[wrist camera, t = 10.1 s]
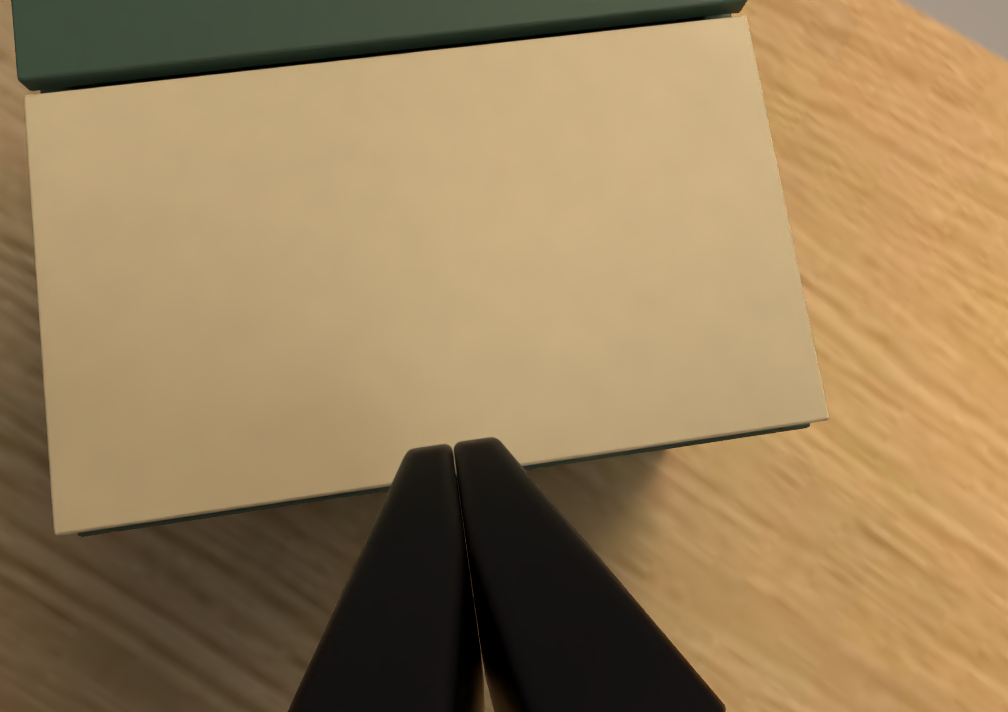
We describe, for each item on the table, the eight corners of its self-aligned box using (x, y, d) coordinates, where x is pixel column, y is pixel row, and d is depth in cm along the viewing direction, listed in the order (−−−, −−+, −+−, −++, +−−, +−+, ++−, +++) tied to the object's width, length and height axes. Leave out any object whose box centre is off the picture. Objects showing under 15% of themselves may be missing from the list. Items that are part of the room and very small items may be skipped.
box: (670, 443, 21) (836, 424, 12) (232, 508, 20) (49, 542, 11) (589, -31, 23) (680, -368, 14) (179, 12, 22) (-19, -315, 13)
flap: (819, 421, 12) (831, 419, 12) (66, 534, 12) (52, 536, 11) (739, 27, 13) (747, 14, 13) (35, 106, 13) (22, 94, 12)
